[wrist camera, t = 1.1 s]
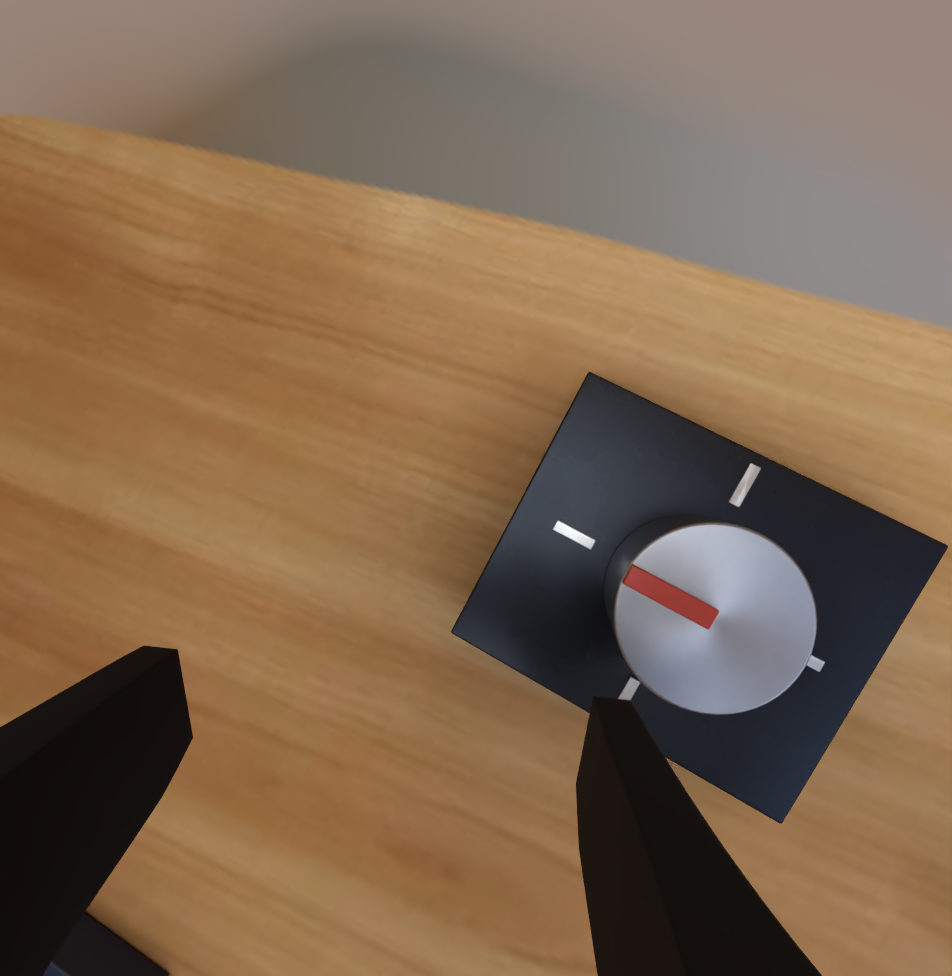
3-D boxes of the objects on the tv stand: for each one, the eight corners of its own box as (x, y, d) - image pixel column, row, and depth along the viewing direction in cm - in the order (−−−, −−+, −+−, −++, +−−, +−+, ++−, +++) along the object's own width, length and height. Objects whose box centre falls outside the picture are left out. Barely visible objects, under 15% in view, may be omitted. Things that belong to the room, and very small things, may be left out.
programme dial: (797, 562, 17) (864, 584, 13) (717, 699, 17) (760, 759, 14) (649, 487, 18) (673, 487, 14) (576, 621, 18) (579, 656, 14)
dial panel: (890, 536, 19) (953, 546, 16) (749, 775, 20) (783, 828, 17) (585, 387, 21) (589, 369, 18) (465, 612, 22) (449, 634, 19)
